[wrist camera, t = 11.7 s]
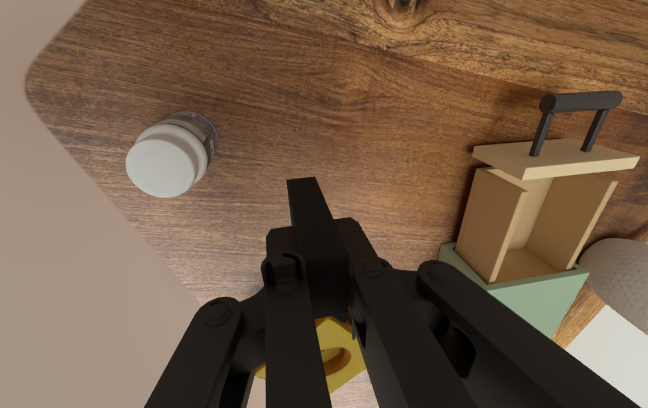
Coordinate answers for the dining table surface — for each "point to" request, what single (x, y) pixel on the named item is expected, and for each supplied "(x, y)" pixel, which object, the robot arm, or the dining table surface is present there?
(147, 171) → the pill bottle
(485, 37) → the dining table surface
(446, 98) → the dining table surface
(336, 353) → the candle
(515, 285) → the cabinet
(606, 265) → the mug
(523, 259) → the drawer
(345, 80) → the dining table surface
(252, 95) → the dining table surface
